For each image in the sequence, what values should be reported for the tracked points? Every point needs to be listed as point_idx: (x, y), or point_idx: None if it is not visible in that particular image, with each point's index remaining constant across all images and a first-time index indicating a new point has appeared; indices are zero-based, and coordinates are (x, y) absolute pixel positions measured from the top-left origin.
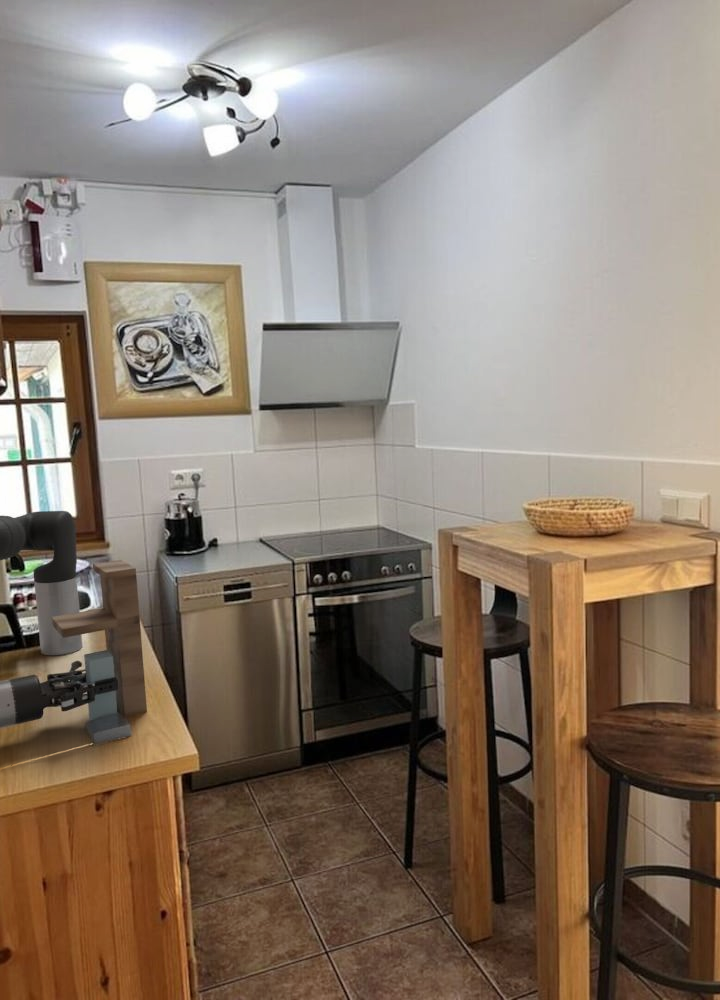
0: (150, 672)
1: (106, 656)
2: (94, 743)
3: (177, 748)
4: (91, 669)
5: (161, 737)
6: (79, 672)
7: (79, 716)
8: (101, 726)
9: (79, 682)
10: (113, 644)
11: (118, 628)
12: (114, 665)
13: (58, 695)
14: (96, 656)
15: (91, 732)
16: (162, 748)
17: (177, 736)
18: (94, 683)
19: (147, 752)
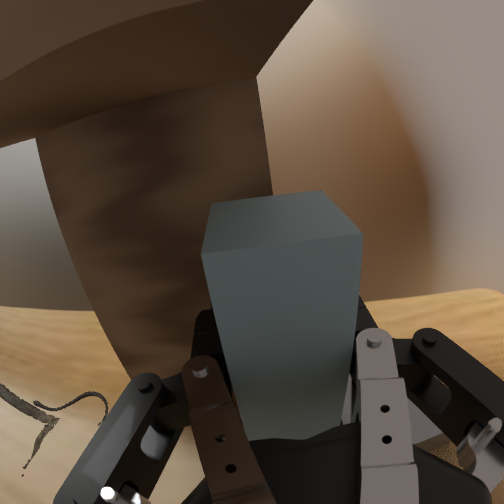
0: (70, 315)
1: (315, 198)
2: (445, 442)
3: (478, 298)
4: (358, 281)
5: (433, 320)
6: (154, 384)
7: (184, 487)
8: (418, 412)
9: (381, 379)
10: (170, 194)
11: (256, 81)
12: (179, 282)
13: (479, 480)
14: (288, 218)
15: (427, 442)
16: (478, 316)
17: (432, 300)
18: (383, 330)
19: (494, 334)
